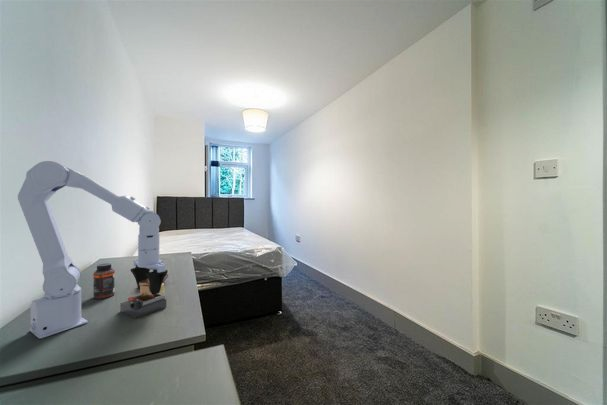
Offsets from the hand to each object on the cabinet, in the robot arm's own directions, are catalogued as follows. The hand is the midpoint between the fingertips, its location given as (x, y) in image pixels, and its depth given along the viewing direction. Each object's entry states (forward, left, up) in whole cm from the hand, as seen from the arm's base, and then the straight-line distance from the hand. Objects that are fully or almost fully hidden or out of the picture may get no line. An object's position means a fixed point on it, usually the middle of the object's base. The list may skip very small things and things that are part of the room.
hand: (148, 291), depth 78 cm
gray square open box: (-2, 0, -5) cm, 5 cm away
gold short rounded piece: (+6, +8, -5) cm, 11 cm away
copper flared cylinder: (0, 0, -3) cm, 3 cm away
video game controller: (+12, +19, -6) cm, 24 cm away
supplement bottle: (-3, +23, -5) cm, 24 cm away
